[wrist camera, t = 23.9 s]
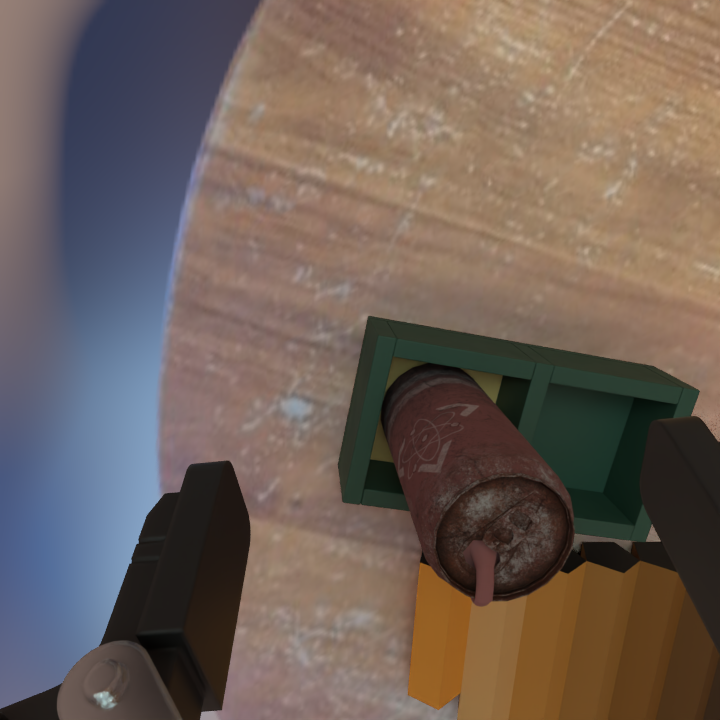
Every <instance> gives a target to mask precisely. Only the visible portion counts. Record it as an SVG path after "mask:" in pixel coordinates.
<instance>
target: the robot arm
mask: <svg viewBox="0 0 720 720" xmlns="http://www.w3.org/2000/svg"><path fill="white" fill-rule="evenodd" d="M639 484H640V494H641V498H642V502H643V505H644V508H645V510H646V513H647V515H648V517H649V518H650V520H651V522H652V524H653V526H654V528H655V530H656V532H657V534H658V536H659V538H660V540H661V542H662V544H663V546H664V548H665V550H666V552H667V553H668V555H669V557H670V559H671V561H672V563H673V565H674V567H675V569H676V571H677V573H678V575H679V577H680V579H681V581H682V583H683V585H684V587H685V588H686V590H687V592H688V594H689V596H690V598H691V600H692V602H693V604H694V606H695V608H696V610H697V612H698V614H699V616H700V618H701V620H702V622H703V624H704V625H705V627H706V629H707V631H708V633H709V635H710V637H711V639H712V641H713V643H714V645H715V647H716V649H717V651H718V653H719V655H720V442H718V441H717V440H716V438H715V437H714V436H713V434H712V433H711V431H710V430H709V429H708V427H707V426H706V425H705V423H704V422H703V421H702V420H701V419H700V418H699V417H697V416H689V417H679V418H669V419H659V420H653V421H652V422H651V424H650V426H649V430H648V435H647V441H646V446H645V452H644V457H643V462H642V468H641V473H640V482H639ZM250 535H251V534H250V520H249V515H248V511H247V508H246V505H245V502H244V499H243V496H242V493H241V490H240V487H239V484H238V480H237V477H236V474H235V471H234V468H233V466H232V464H231V462H230V461H218V462H208V463H198V464H191V465H190V466H189V467H188V469H187V471H186V474H185V478H184V481H183V484H182V487H181V490H180V492H177V493H167V494H164V495H163V497H162V498H161V499H160V500H159V501H158V503H157V504H156V505H155V506H154V507H153V509H152V510H151V511H150V512H149V514H148V515H147V517H146V520H145V523H144V525H143V528H142V531H141V534H140V536H139V544H137V545H136V547H135V550H134V553H133V556H132V563H131V564H129V567H128V570H127V573H126V575H125V578H124V581H123V584H122V586H121V590H120V592H119V595H118V598H117V600H116V603H115V606H114V609H113V612H112V614H111V617H110V620H109V623H108V626H107V629H106V631H105V634H104V637H103V639H102V641H101V644H100V645H99V647H97V648H95V649H94V650H92V651H90V652H89V653H88V654H86V655H85V656H84V657H82V658H81V659H80V660H79V661H78V662H77V663H76V664H75V665H74V666H73V668H72V669H71V670H70V671H69V673H68V674H67V676H66V677H65V679H64V681H63V683H61V684H60V685H58V686H56V687H54V688H52V689H49V690H47V691H45V692H42V693H39V694H37V695H34V696H32V697H29V698H27V699H24V700H22V701H19V702H17V703H14V704H12V705H9V706H7V707H4V708H2V709H0V720H200V716H201V712H203V711H217V710H222V706H223V700H224V694H225V688H226V682H227V676H228V670H229V665H230V659H231V653H232V647H233V641H234V635H235V629H236V623H237V618H238V612H239V606H240V600H241V594H242V588H243V582H244V576H245V571H246V565H247V559H248V553H249V547H250Z"/></svg>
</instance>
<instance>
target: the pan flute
mask: <svg viewBox="0 0 720 720" xmlns="http://www.w3.org/2000/svg"><path fill="white" fill-rule="evenodd" d="M459 694H460V695H459ZM408 695H409V696H411V697H413V698H415V699H417V700H419V701H421V702H423V703H425V704H427V705H429V706H431V707H433V708H435V709H437V710H439V709H440V708H442V707H443V706H444V705H446V704H447V703H448V702H450V701H451V700H452V699H454V698H455V697H456V696H457V695H459V705H458V717H457V720H720V655H719V653H718V651H717V649H716V647H715V645H714V643H713V641H712V639H711V637H710V635H709V633H708V631H707V629H706V627H705V625H704V624H703V622H702V620H701V618H700V616H699V614H698V612H697V610H696V608H695V606H694V604H693V602H692V600H691V598H690V596H689V594H688V592H687V590H686V588H685V587H684V585H683V583H682V581H681V579H680V577H679V575H678V573H677V571H676V569H675V567H674V565H673V563H672V561H671V559H670V557H669V555H668V553H667V552H666V550H665V548H664V546H663V544H662V542H645V543H644V542H633V547H632V552H631V554H630V553H629V552H627V551H626V550H625V549H623V548H622V547H620V546H619V545H617V544H616V543H615V542H583V543H582V549H581V555H578V554H577V553H576V552H575V551H573V550H571V552H570V554H569V556H568V558H567V560H566V562H565V564H564V566H563V568H562V569H561V570H560V571H559V572H558V573H557V574H556V575H555V576H554V577H553V578H552V579H551V580H550V581H549V583H548V584H546V585H544V586H543V587H541V588H539V589H538V590H536V591H534V592H533V593H531V594H529V595H527V596H524V597H520V598H517V599H513V600H510V601H491V602H490V603H489V604H488V605H486V606H483V607H480V606H476V605H475V604H474V603H473V602H472V600H471V598H470V597H468V596H466V595H464V594H463V593H461V592H460V591H458V590H457V589H455V588H454V587H452V586H451V585H450V584H449V583H447V582H446V581H444V580H443V579H441V578H440V577H438V576H437V574H436V573H435V572H434V570H433V569H432V567H431V566H430V565H429V563H428V562H427V561H426V559H425V556H424V553H423V551H422V556H421V560H420V568H419V578H418V589H417V600H416V610H415V621H414V632H413V643H412V653H411V664H410V675H409V685H408Z"/></svg>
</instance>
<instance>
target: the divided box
mask: <svg viewBox="0 0 720 720" xmlns="http://www.w3.org/2000/svg"><path fill="white" fill-rule="evenodd" d="M426 363H433V364H439V365H445V366H451V367H457V368H461V369H462V370H463V371H464V372H466V373H467V374H468V375H470V376H471V377H472V378H473V379H474V380H475V381H476V382H477V383H478V385H479V386H480V387H481V388H482V389H483V390H484V392H485V393H486V394H487V395H488V396H489V397H490V398H491V400H492V401H493V402H494V403H495V404H496V405H497V407H498V408H499V409H500V410H501V411H502V412H503V413H504V415H505V416H506V417H507V418H508V419H509V420H510V421H511V423H512V424H513V425H514V426H515V427H516V428H517V430H518V431H519V432H520V433H521V434H522V435H523V436H524V438H525V439H526V440H527V441H528V442H529V443H530V445H531V446H532V447H533V448H534V449H535V450H536V451H537V453H538V454H539V455H540V456H541V457H542V458H543V460H544V461H545V462H546V463H547V464H548V465H549V466H550V468H551V469H552V470H553V471H554V472H555V473H556V474H557V476H558V477H559V478H560V480H561V481H562V483H563V485H564V486H565V488H566V490H567V491H568V493H569V494H570V497H571V503H572V508H573V513H574V521H573V522H574V527H575V533H577V534H584V535H592V536H600V537H607V538H615V539H622V540H630V541H637V542H644V543H645V542H646V539H647V536H648V533H649V531H650V528H651V525H652V522H651V520H650V518H649V517H648V515H647V513H646V510H645V508H644V505H643V502H642V498H641V494H640V484H639V482H640V473H641V468H642V462H643V457H644V452H645V446H646V441H647V435H648V430H649V426H650V424H651V422H652V421H653V420H659V419H669V418H679V417H689V416H691V414H692V412H693V409H694V406H695V403H696V400H697V398H698V395H699V392H700V391H699V390H698V389H696V388H694V387H692V386H690V385H688V384H686V383H684V382H682V381H681V380H679V379H677V378H675V377H673V376H671V375H669V374H667V373H665V372H664V371H662V370H660V369H658V368H656V367H654V366H649V365H643V364H638V363H632V362H626V361H621V360H615V359H609V358H604V357H598V356H592V355H587V354H581V353H575V352H570V351H564V350H558V349H553V348H547V347H541V346H536V345H530V344H524V343H519V342H513V341H508V340H502V339H496V338H491V337H485V336H479V335H474V334H468V333H462V332H457V331H451V330H445V329H440V328H434V327H428V326H423V325H417V324H411V323H406V322H400V321H394V320H389V319H383V318H377V317H372V316H368V320H367V325H366V330H365V335H364V340H363V345H362V349H361V354H360V359H359V364H358V369H357V374H356V379H355V384H354V388H353V393H352V398H351V403H350V408H349V413H348V418H347V423H346V427H345V432H344V437H343V442H342V447H341V452H340V457H339V462H338V469H339V477H340V485H341V493H342V500H343V502H344V503H351V504H360V503H361V504H362V505H367V506H375V507H383V508H390V509H398V510H405V511H410V510H409V507H408V504H407V501H406V498H405V495H404V492H403V489H402V486H401V483H400V480H399V477H398V473H397V470H396V467H395V464H394V461H393V458H392V455H391V452H390V449H389V446H388V443H387V440H386V437H385V434H384V430H383V427H382V423H381V408H382V403H383V400H384V397H385V395H386V392H387V390H388V388H389V387H390V386H391V385H392V384H393V382H394V381H395V380H396V379H397V378H398V377H399V376H400V375H402V374H403V373H405V372H406V371H408V370H409V369H411V368H412V367H416V366H419V365H423V364H426Z"/></svg>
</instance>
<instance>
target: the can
mask: <svg viewBox="0 0 720 720" xmlns="http://www.w3.org/2000/svg"><path fill="white" fill-rule="evenodd" d="M381 423H382V427H383V430H384V434H385V437H386V440H387V443H388V446H389V449H390V452H391V455H392V458H393V461H394V464H395V467H396V470H397V473H398V477H399V480H400V483H401V486H402V489H403V492H404V495H405V498H406V501H407V504H408V507H409V510H410V513H411V516H412V519H413V522H414V525H415V528H416V531H417V534H418V537H419V541H420V544H421V547H422V550H423V553H424V556H425V559H426V561H427V562H428V563H429V565H430V566H431V567H432V569H433V570H434V572H435V573H436V574H437V576H438V577H440V578H441V579H443V580H444V581H446V582H447V583H449V584H450V585H451V586H452V587H454V588H455V589H457V590H458V591H460V592H461V593H463V594H464V595H466V596H468V597H470V598H471V600H472V602H473V603H474V604H475V605H476V606H480V607H483V606H486V605H488V604H489V603H490V602H491V601H510V600H513V599H517V598H520V597H524V596H527V595H529V594H531V593H533V592H534V591H536V590H538V589H539V588H541V587H543V586H544V585H546V584H548V583H549V581H550V580H551V579H552V578H553V577H554V576H555V575H556V574H557V573H558V572H559V571H560V570H561V569H562V568H563V566H564V564H565V562H566V560H567V558H568V556H569V554H570V552H571V550H572V545H573V539H574V533H575V527H574V522H573V521H574V513H573V508H572V503H571V497H570V494H569V493H568V491H567V490H566V488H565V486H564V485H563V483H562V481H561V480H560V478H559V477H558V476H557V474H556V473H555V472H554V471H553V470H552V469H551V468H550V466H549V465H548V464H547V463H546V462H545V461H544V460H543V458H542V457H541V456H540V455H539V454H538V453H537V451H536V450H535V449H534V448H533V447H532V446H531V445H530V443H529V442H528V441H527V440H526V439H525V438H524V436H523V435H522V434H521V433H520V432H519V431H518V430H517V428H516V427H515V426H514V425H513V424H512V423H511V421H510V420H509V419H508V418H507V417H506V416H505V415H504V413H503V412H502V411H501V410H500V409H499V408H498V407H497V405H496V404H495V403H494V402H493V401H492V400H491V398H490V397H489V396H488V395H487V394H486V393H485V392H484V390H483V389H482V388H481V387H480V386H479V385H478V383H477V382H476V381H475V380H474V379H473V378H472V377H471V376H470V375H468V374H467V373H466V372H464V371H463V370H462V369H461V368H457V367H451V366H445V365H439V364H433V363H426V364H423V365H419V366H416V367H412V368H411V369H409V370H408V371H406V372H405V373H403V374H402V375H400V376H399V377H398V378H397V379H396V380H395V381H394V382H393V384H392V385H391V386H390V387H389V388H388V390H387V392H386V395H385V397H384V400H383V403H382V408H381Z"/></svg>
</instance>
